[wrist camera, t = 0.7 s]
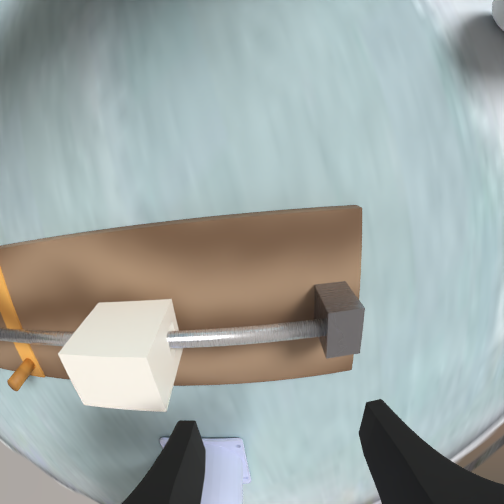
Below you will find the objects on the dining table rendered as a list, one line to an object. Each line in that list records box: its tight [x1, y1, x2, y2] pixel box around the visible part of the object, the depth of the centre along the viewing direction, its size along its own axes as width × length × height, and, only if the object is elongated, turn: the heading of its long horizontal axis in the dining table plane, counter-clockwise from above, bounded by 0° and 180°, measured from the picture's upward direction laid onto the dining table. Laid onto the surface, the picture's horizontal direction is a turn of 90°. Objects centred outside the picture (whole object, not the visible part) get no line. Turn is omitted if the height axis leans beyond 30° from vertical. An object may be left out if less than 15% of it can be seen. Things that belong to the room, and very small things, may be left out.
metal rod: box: [0, 281, 365, 359], centre depth 18 cm, size 3×29×4 cm, turn 95°
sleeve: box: [58, 299, 183, 412], centre depth 15 cm, size 4×5×6 cm
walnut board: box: [0, 205, 362, 391], centre depth 18 cm, size 12×34×4 cm, turn 95°
